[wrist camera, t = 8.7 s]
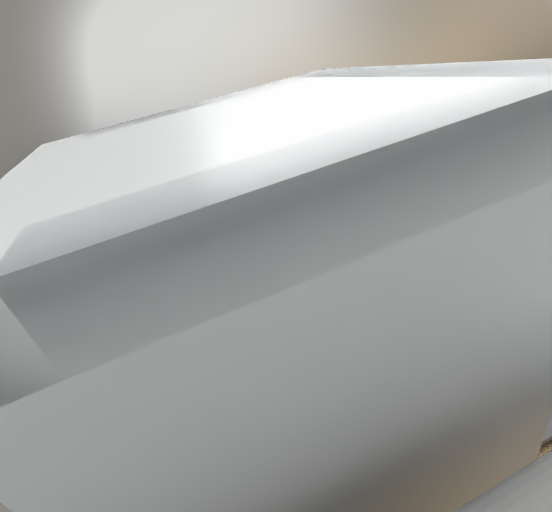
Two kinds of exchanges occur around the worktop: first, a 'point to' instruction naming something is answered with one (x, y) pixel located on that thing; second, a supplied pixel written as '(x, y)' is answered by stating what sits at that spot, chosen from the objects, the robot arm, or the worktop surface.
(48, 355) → the sleeve lid
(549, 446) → the worktop surface
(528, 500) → the robot arm
